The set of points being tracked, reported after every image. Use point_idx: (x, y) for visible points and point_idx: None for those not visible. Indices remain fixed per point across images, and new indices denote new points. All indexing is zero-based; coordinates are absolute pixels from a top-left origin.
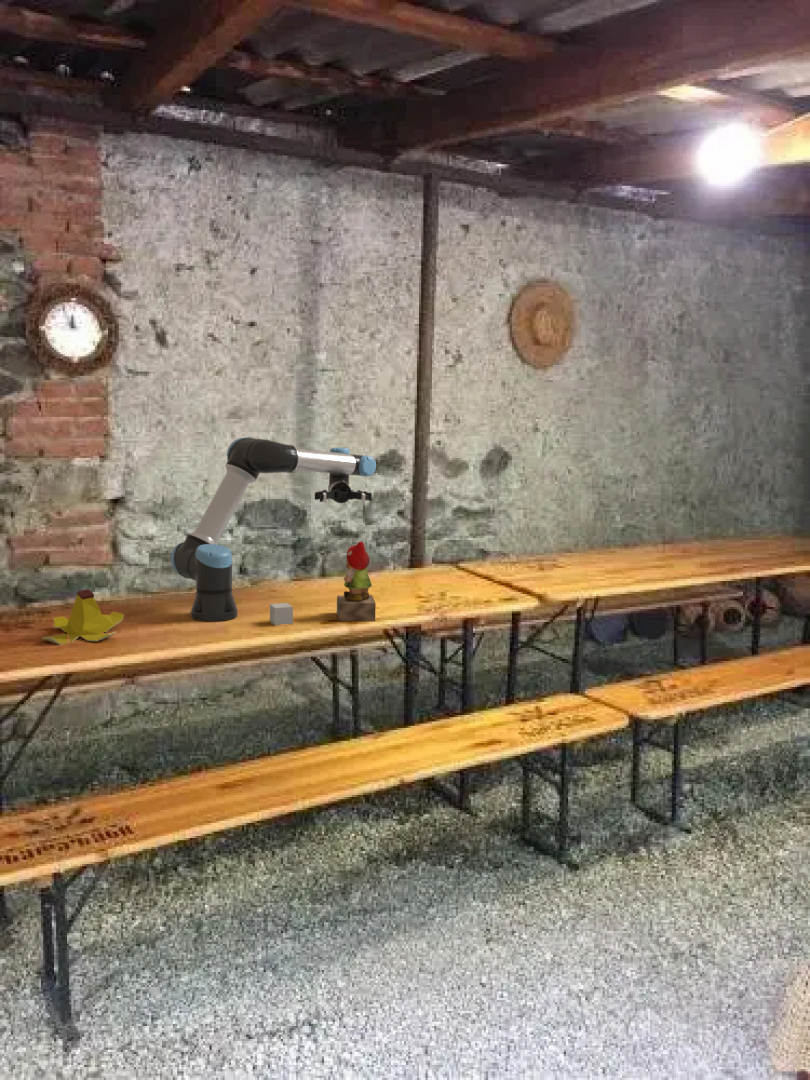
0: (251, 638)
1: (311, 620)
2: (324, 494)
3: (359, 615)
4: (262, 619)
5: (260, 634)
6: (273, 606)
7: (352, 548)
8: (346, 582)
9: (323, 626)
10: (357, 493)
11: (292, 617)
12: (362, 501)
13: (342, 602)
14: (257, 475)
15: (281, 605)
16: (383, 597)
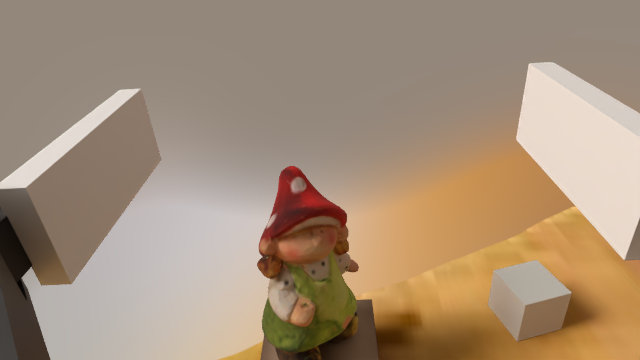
0: (535, 224)
1: (449, 341)
2: (562, 71)
3: None
4: (595, 350)
5: (530, 243)
6: (548, 272)
7: (322, 197)
8: (349, 288)
9: (408, 292)
10: (7, 301)
11: (490, 291)
12: (130, 195)
13: (362, 307)
14: None
15: (530, 280)
16: None
